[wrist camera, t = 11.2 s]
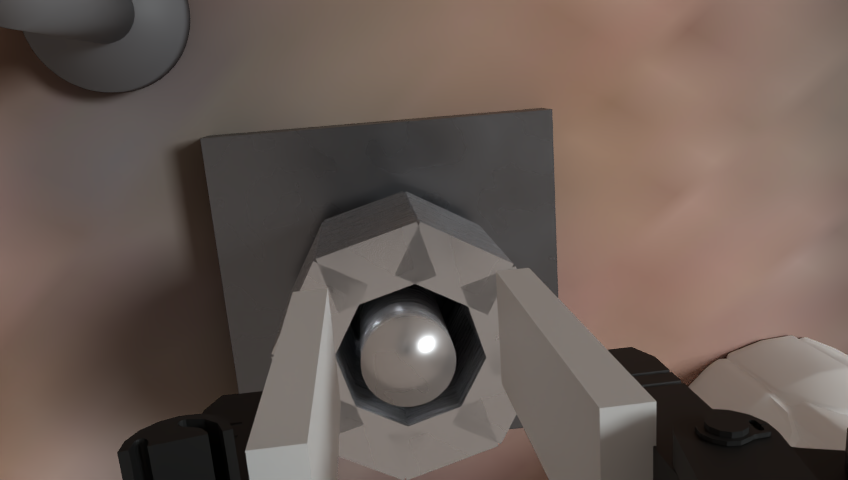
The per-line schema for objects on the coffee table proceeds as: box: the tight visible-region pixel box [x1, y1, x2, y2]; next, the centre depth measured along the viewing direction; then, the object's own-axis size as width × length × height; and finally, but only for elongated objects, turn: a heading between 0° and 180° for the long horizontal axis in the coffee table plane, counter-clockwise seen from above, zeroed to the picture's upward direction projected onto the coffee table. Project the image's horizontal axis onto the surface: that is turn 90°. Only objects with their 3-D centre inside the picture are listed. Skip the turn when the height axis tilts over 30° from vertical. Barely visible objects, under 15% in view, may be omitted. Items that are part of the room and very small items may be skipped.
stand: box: [0, 0, 190, 92], centre depth 22 cm, size 6×6×8 cm
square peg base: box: [200, 108, 558, 429], centre depth 25 cm, size 14×14×9 cm
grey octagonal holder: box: [271, 191, 517, 480], centre depth 24 cm, size 8×8×6 cm
